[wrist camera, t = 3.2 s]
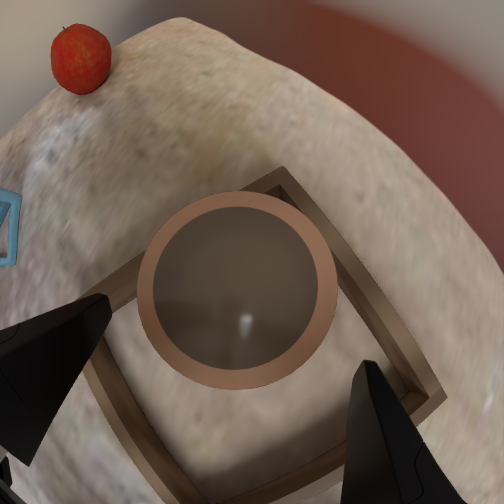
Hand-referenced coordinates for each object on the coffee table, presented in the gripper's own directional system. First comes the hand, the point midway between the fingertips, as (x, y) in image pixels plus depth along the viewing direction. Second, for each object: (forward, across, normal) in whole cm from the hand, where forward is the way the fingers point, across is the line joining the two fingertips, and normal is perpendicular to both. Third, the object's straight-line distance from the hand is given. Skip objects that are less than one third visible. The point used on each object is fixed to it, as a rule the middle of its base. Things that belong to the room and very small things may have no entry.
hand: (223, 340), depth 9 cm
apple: (+24, +27, -10) cm, 38 cm away
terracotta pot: (+8, 0, +5) cm, 9 cm away
